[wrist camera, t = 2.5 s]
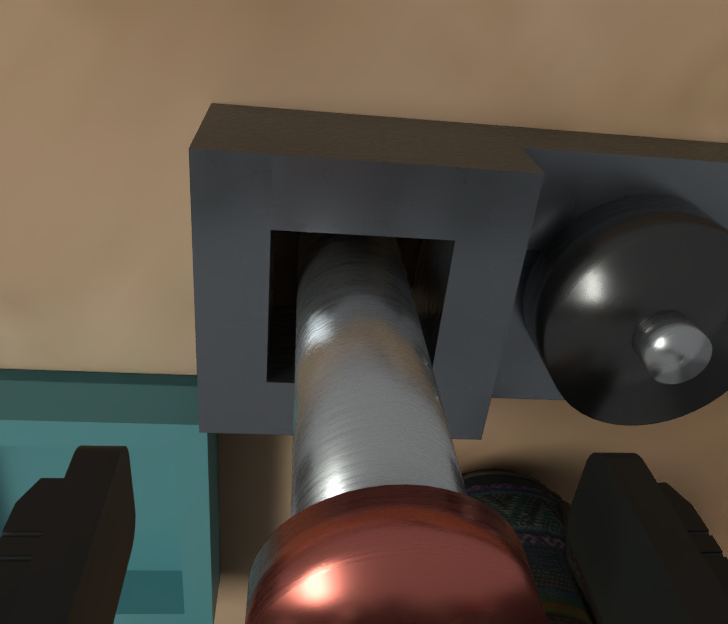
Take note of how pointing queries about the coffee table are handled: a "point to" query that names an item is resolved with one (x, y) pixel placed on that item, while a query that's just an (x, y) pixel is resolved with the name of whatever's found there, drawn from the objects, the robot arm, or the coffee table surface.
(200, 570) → the tray
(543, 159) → the block
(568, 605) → the mate gourd
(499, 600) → the lock pin
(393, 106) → the coffee table surface
